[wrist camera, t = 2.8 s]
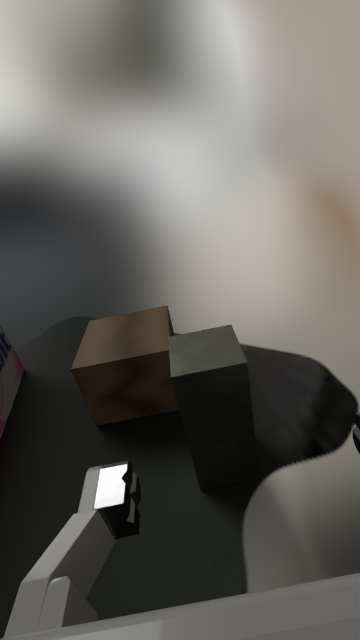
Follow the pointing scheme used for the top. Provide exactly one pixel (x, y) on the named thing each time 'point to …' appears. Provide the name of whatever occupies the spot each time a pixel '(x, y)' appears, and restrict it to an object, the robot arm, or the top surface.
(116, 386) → the walnut block
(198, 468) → the brushed metal block
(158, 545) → the top surface
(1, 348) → the gum box
